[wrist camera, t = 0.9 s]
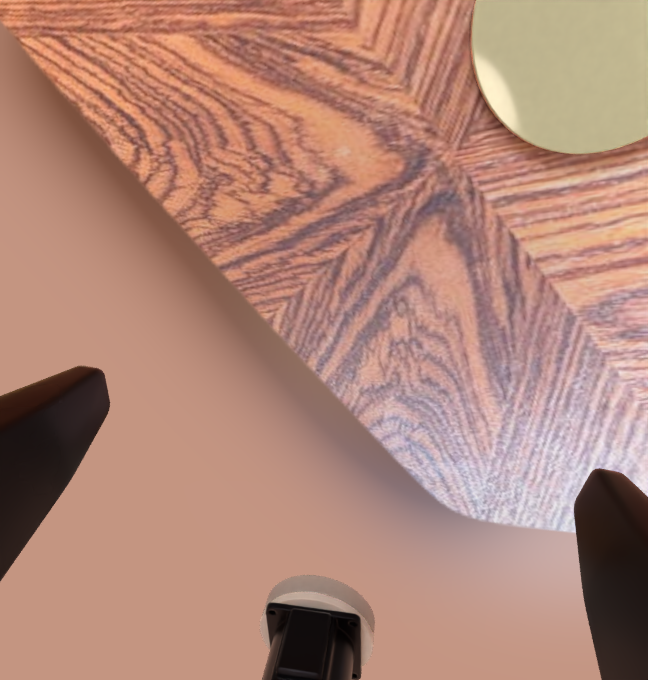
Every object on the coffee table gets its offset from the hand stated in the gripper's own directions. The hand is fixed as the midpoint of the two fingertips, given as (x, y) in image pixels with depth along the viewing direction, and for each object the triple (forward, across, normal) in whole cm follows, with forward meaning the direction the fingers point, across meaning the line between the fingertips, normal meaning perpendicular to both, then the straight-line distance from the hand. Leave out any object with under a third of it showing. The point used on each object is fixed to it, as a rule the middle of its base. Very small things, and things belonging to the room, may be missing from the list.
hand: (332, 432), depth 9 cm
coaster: (+16, -6, -8) cm, 18 cm away
